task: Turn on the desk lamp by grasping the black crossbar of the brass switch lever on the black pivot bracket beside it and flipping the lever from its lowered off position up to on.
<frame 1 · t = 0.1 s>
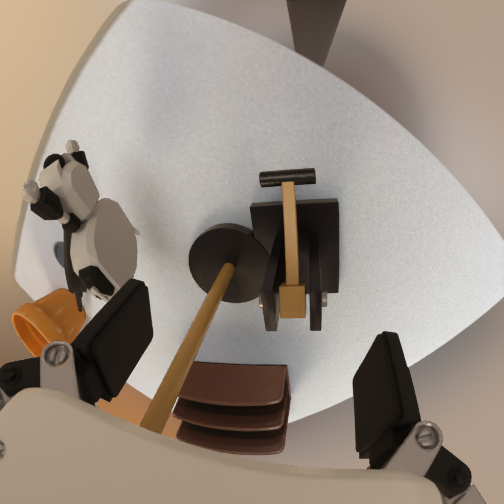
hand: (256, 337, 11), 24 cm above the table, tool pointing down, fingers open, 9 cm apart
letter holder: (236, 379, 49), on the table
walkie-talkie: (94, 270, 42), point 1 cm above the table
black pivot bracket: (297, 247, 35), on the table
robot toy: (68, 230, 23), point 14 cm above the table
desk lamp: (231, 262, 37), on the table
flower pot: (71, 305, 50), on the table
switch lever: (291, 242, 25), point 9 cm above the table, hinge at -25.0°
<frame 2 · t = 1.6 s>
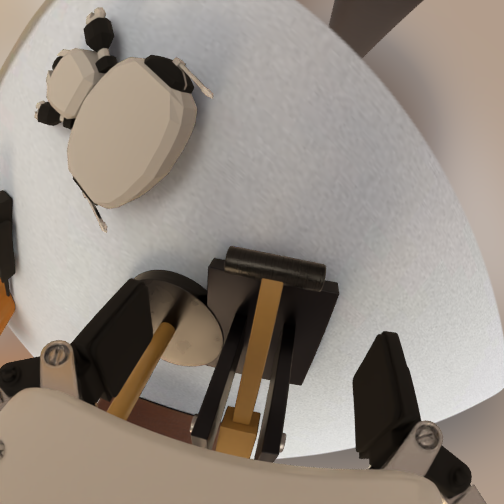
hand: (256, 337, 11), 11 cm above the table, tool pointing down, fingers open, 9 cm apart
letter holder: (166, 417, 39), on the table
walkie-talkie: (8, 269, 27), point 3 cm above the table
black pivot bracket: (264, 325, 25), on the table
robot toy: (121, 104, 18), on the table
desk lamp: (174, 317, 26), on the table
flower pot: (3, 291, 35), on the table
switch lever: (253, 370, 15), point 9 cm above the table, hinge at -25.0°
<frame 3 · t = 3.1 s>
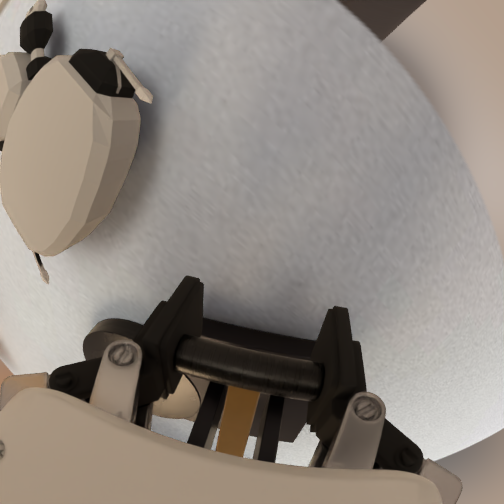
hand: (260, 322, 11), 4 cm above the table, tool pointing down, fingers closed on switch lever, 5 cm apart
black pivot bracket: (248, 385, 19), on the table
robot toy: (63, 117, 13), on the table
desk lamp: (144, 368, 21), on the table
switch lever: (224, 473, 9), point 9 cm above the table, hinge at -25.0°, touching gripper
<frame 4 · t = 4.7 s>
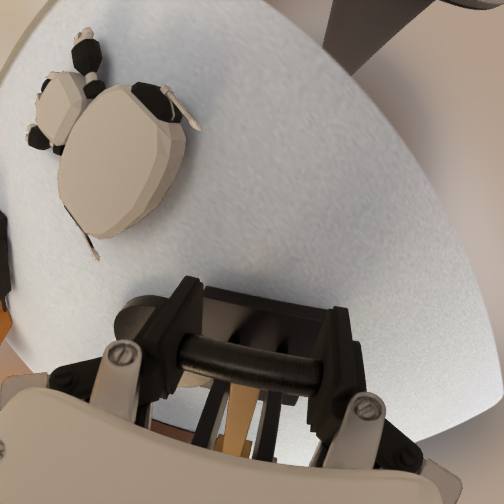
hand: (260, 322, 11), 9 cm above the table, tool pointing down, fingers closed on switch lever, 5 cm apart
letter holder: (162, 432, 38), on the table
walkie-talkie: (4, 287, 26), point 3 cm above the table
black pivot bracket: (257, 350, 24), on the table
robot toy: (110, 129, 18), on the table
desk lamp: (168, 340, 26), on the table
switch lever: (236, 431, 12), point 11 cm above the table, hinge at 1.7°, touching gripper
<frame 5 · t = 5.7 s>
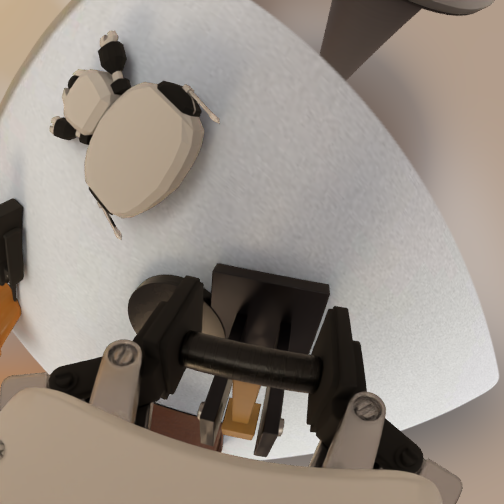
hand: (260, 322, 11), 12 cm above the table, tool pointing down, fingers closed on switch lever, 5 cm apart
letter holder: (168, 418, 40), on the table
walkie-talkie: (17, 274, 29), point 3 cm above the table
black pivot bracket: (262, 325, 27), on the table
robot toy: (132, 123, 21), on the table
desk lamp: (179, 319, 29), on the table
flower pot: (9, 296, 37), on the table
switch lever: (243, 403, 14), point 13 cm above the table, hinge at 17.6°, touching gripper
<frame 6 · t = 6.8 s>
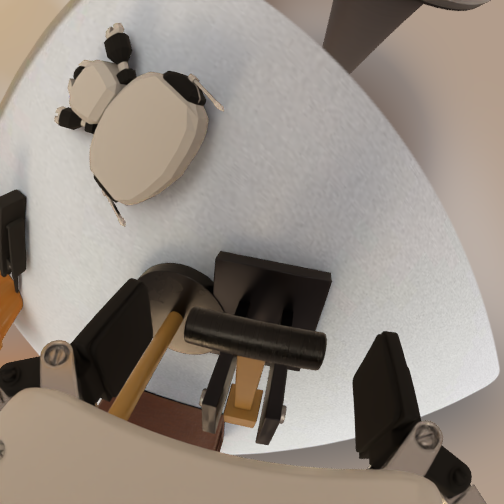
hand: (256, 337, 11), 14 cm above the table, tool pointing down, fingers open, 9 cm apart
letter holder: (169, 410, 41), on the table
walkie-talkie: (19, 265, 29), point 3 cm above the table
black pivot bracket: (265, 314, 27), on the table
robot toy: (137, 112, 21), on the table
desk lamp: (181, 308, 29), on the table
flower pot: (10, 288, 37), on the table
switch lever: (246, 386, 14), point 13 cm above the table, hinge at 17.4°
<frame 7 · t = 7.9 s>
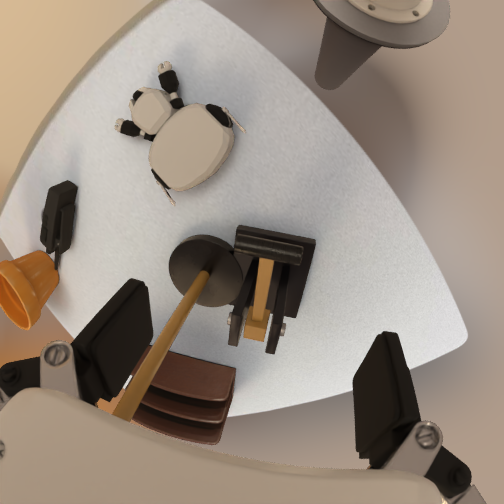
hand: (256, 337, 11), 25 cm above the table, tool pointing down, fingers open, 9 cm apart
letter holder: (187, 369, 53), on the table
walkie-talkie: (66, 243, 40), point 3 cm above the table
black pivot bracket: (269, 271, 39), on the table
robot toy: (181, 127, 32), on the table
desk lamp: (207, 269, 40), on the table
flower pot: (47, 268, 49), on the table
switch lever: (261, 295, 25), point 13 cm above the table, hinge at 17.4°
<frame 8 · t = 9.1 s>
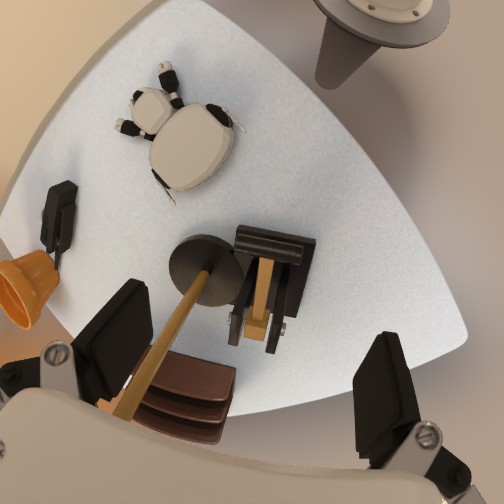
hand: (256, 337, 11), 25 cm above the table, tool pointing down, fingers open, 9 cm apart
letter holder: (187, 369, 53), on the table
walkie-talkie: (67, 243, 40), point 3 cm above the table
black pivot bracket: (269, 271, 39), on the table
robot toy: (181, 127, 32), on the table
desk lamp: (207, 269, 40), on the table
flower pot: (47, 268, 49), on the table
switch lever: (261, 295, 25), point 13 cm above the table, hinge at 17.4°
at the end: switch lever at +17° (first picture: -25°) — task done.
